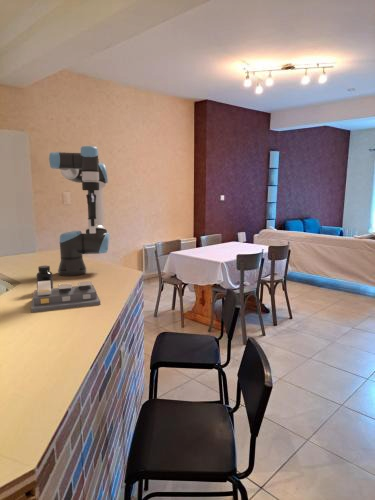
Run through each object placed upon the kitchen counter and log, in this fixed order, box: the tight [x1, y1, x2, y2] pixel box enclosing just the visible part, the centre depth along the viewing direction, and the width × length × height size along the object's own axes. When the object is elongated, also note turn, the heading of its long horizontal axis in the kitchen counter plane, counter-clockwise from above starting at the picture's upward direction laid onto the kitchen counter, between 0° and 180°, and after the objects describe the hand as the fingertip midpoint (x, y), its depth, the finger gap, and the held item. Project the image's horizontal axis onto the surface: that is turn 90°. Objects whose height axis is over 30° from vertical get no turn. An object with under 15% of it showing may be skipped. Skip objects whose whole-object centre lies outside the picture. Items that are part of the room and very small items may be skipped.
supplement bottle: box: [35, 265, 54, 290], centre depth 159 cm, size 7×7×12 cm
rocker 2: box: [57, 282, 73, 289], centre depth 146 cm, size 9×5×2 cm, turn 22°
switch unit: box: [30, 284, 101, 313], centre depth 145 cm, size 16×26×6 cm, turn 112°
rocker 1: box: [38, 281, 51, 296], centre depth 143 cm, size 9×5×2 cm, turn 22°
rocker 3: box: [77, 280, 93, 287], centre depth 149 cm, size 9×5×2 cm, turn 22°
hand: (92, 233), depth 163 cm, fingers closed
